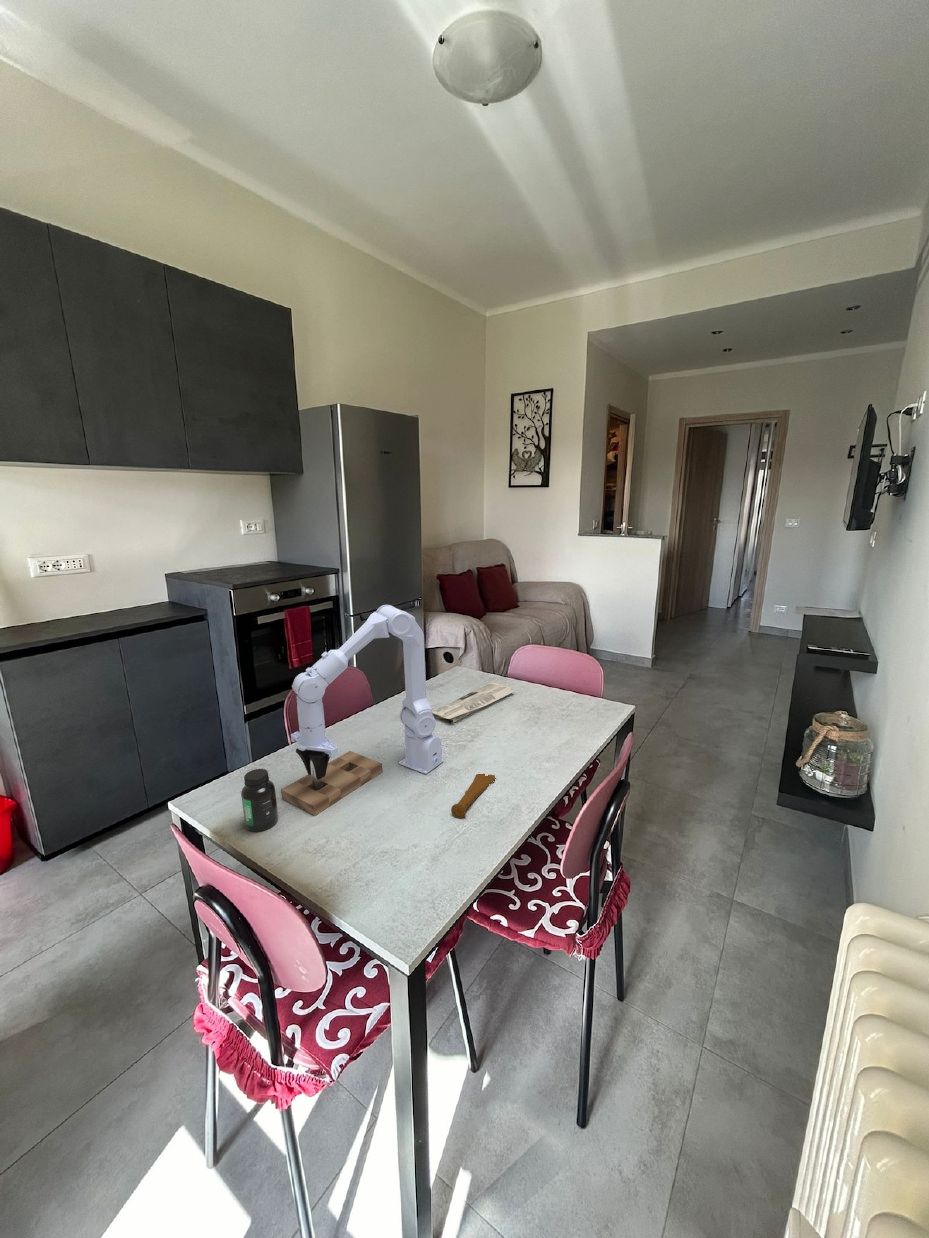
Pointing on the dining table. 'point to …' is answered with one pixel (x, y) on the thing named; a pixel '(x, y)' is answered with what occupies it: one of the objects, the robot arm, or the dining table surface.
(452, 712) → the newspaper
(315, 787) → the steel peg
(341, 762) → the tool stand
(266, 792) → the supplement bottle
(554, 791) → the dining table surface
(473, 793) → the primitive tool
